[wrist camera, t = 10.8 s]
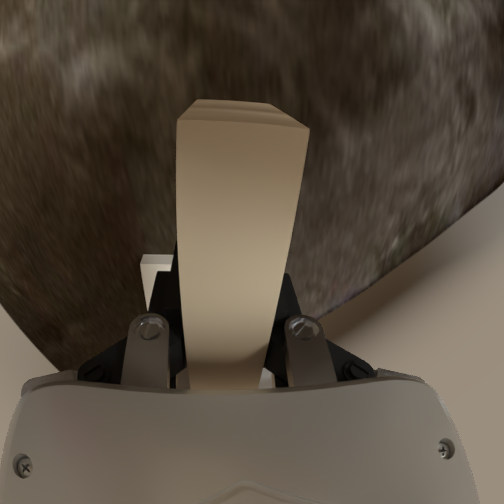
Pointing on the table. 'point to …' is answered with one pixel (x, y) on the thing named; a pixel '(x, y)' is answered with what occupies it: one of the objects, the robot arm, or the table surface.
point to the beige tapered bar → (233, 235)
